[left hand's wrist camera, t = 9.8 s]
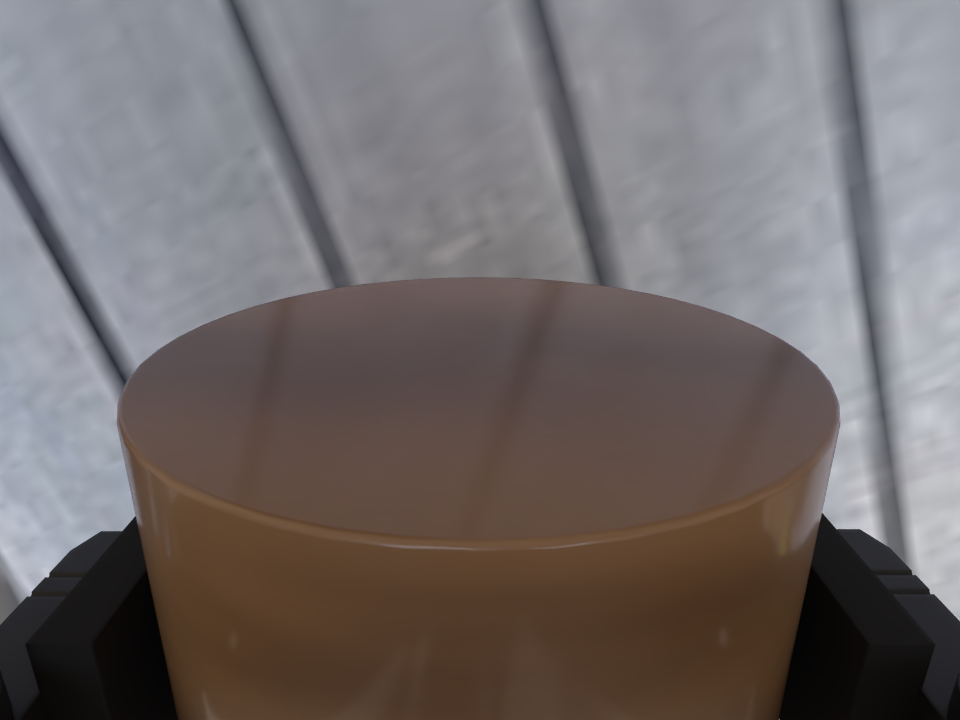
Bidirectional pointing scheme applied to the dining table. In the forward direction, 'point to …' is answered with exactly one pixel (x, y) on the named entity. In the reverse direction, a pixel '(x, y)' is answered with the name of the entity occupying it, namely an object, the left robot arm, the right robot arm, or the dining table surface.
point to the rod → (478, 505)
